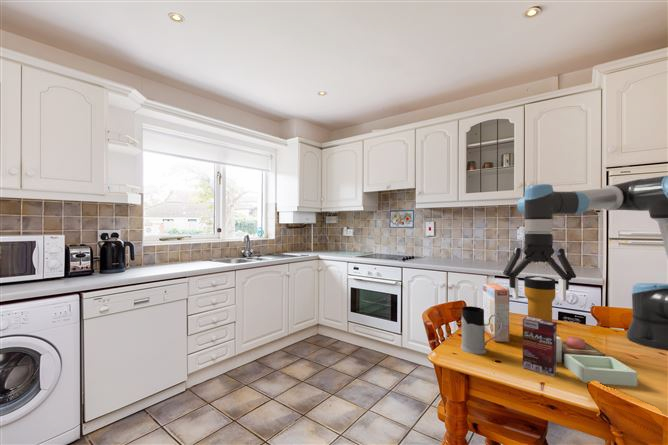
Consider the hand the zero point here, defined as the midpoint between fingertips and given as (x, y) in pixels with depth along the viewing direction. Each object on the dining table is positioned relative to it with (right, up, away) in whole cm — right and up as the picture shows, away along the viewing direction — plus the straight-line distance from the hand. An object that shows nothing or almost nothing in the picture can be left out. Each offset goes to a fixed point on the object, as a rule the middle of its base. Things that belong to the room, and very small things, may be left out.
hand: (538, 299), depth 98 cm
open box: (+8, -23, +9) cm, 26 cm away
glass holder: (-11, -23, +15) cm, 30 cm away
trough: (+16, -23, -4) cm, 28 cm away
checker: (+18, -23, +8) cm, 30 cm away
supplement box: (0, -23, 0) cm, 23 cm away
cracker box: (+2, -23, +29) cm, 37 cm away
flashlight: (+14, -23, +21) cm, 34 cm away
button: (+18, -19, +8) cm, 27 cm away
